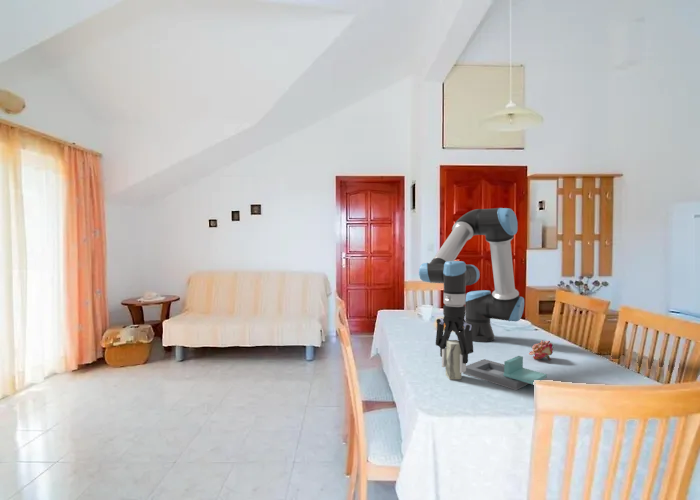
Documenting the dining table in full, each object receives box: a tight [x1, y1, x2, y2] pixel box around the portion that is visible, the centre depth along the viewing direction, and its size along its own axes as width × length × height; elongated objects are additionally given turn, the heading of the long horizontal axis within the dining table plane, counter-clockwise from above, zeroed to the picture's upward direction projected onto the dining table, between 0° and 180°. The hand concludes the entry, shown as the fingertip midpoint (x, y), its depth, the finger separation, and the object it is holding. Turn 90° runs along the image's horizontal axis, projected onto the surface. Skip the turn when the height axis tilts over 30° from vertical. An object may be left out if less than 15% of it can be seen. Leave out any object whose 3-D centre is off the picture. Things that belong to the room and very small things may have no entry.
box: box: [445, 339, 462, 381], centre depth 138 cm, size 5×4×13 cm
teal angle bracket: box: [503, 355, 548, 385], centre depth 132 cm, size 10×10×5 cm
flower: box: [528, 340, 554, 362], centre depth 158 cm, size 10×9×8 cm
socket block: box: [462, 358, 529, 391], centre depth 139 cm, size 20×14×2 cm
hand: (453, 368), depth 139 cm, fingers open, 7 cm apart
